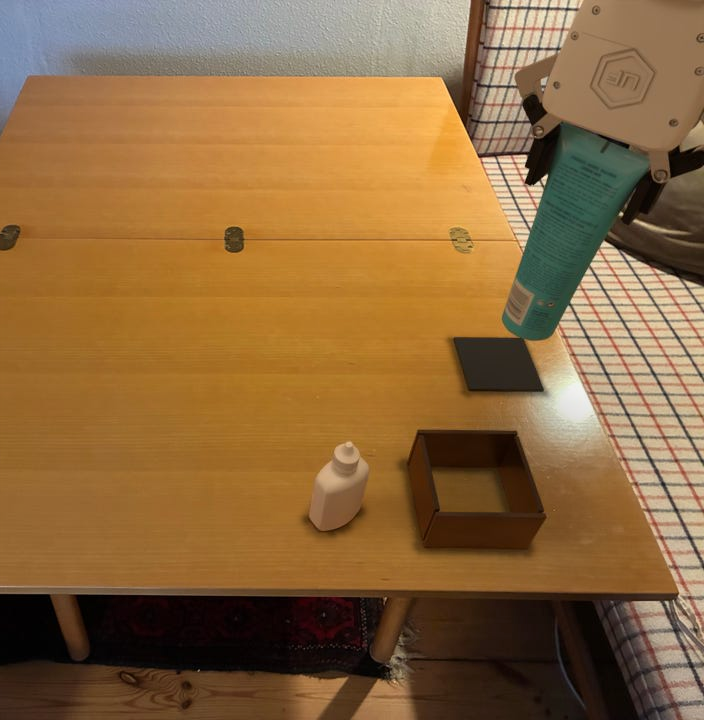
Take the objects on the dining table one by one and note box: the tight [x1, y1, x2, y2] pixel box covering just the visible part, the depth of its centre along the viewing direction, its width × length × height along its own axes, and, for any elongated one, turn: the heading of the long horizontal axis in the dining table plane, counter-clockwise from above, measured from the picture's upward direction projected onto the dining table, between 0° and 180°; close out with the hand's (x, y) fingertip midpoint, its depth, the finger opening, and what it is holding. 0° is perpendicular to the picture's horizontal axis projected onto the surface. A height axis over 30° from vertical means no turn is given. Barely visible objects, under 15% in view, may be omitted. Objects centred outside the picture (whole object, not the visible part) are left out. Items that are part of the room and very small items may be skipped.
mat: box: [453, 336, 545, 392], centre depth 87 cm, size 9×9×1 cm
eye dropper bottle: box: [308, 440, 371, 532], centre depth 68 cm, size 4×6×12 cm
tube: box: [501, 121, 651, 342], centre depth 60 cm, size 7×5×19 cm, turn 44°
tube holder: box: [406, 428, 548, 550], centre depth 71 cm, size 10×10×6 cm
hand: (582, 195), depth 56 cm, fingers closed on tube, 7 cm apart
